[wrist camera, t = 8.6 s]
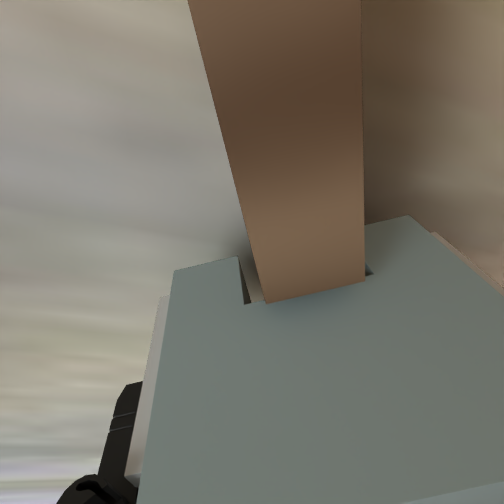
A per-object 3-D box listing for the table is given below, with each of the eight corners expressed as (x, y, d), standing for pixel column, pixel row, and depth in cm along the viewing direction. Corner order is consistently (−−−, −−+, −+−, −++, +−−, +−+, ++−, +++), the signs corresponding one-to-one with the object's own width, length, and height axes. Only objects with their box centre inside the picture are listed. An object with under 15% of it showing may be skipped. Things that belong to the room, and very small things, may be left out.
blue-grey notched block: (174, 270, 13) (127, 562, 6) (408, 214, 13) (675, 444, 6) (202, 333, 16) (194, 602, 8) (403, 287, 15) (588, 520, 8)
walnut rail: (152, -166, 8) (59, -497, 3) (265, -198, 8) (351, -586, 3) (295, 409, 24) (318, 507, 19) (335, 401, 24) (368, 496, 19)
